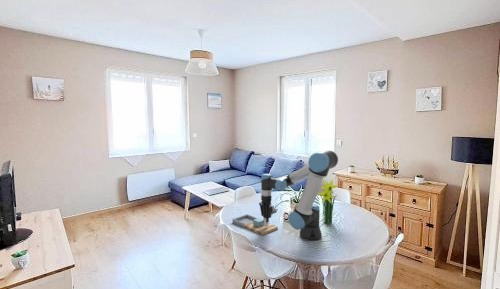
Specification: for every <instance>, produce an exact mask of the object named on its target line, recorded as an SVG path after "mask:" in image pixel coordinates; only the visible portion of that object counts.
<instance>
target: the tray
mask: <svg viewBox="0 0 500 289" xmlns="http://www.w3.org/2000/svg"><path fill="white" fill-rule="evenodd" d="M257 218H258V217H256V216H253V215H252V214H251V215H250V214H244V215H241V216H237V217H235V218H232V223H233V224H234V225H237V226H239V227H242V228H244V225H245V224H248V223H251V222H253V220H254V219H257Z"/></svg>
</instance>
